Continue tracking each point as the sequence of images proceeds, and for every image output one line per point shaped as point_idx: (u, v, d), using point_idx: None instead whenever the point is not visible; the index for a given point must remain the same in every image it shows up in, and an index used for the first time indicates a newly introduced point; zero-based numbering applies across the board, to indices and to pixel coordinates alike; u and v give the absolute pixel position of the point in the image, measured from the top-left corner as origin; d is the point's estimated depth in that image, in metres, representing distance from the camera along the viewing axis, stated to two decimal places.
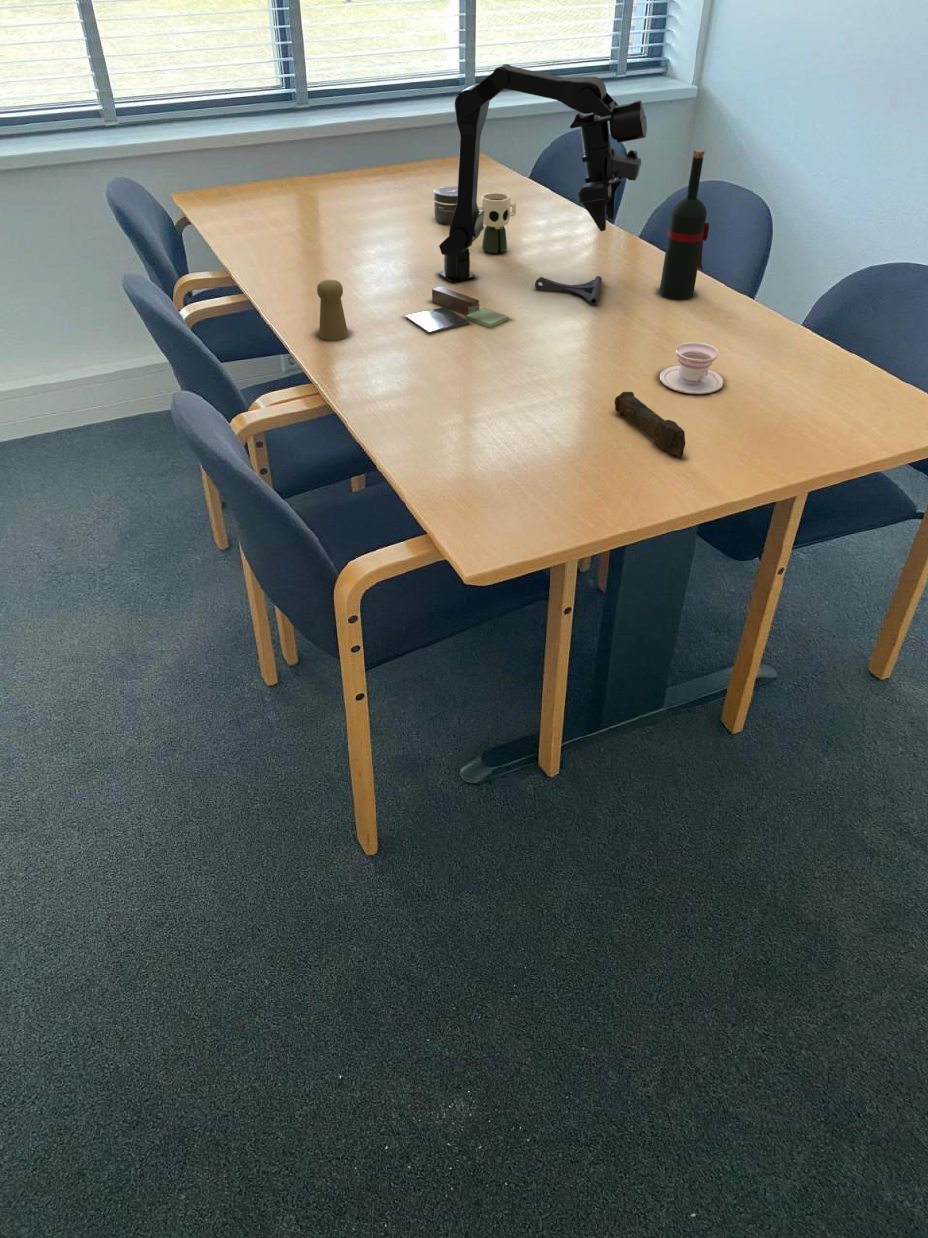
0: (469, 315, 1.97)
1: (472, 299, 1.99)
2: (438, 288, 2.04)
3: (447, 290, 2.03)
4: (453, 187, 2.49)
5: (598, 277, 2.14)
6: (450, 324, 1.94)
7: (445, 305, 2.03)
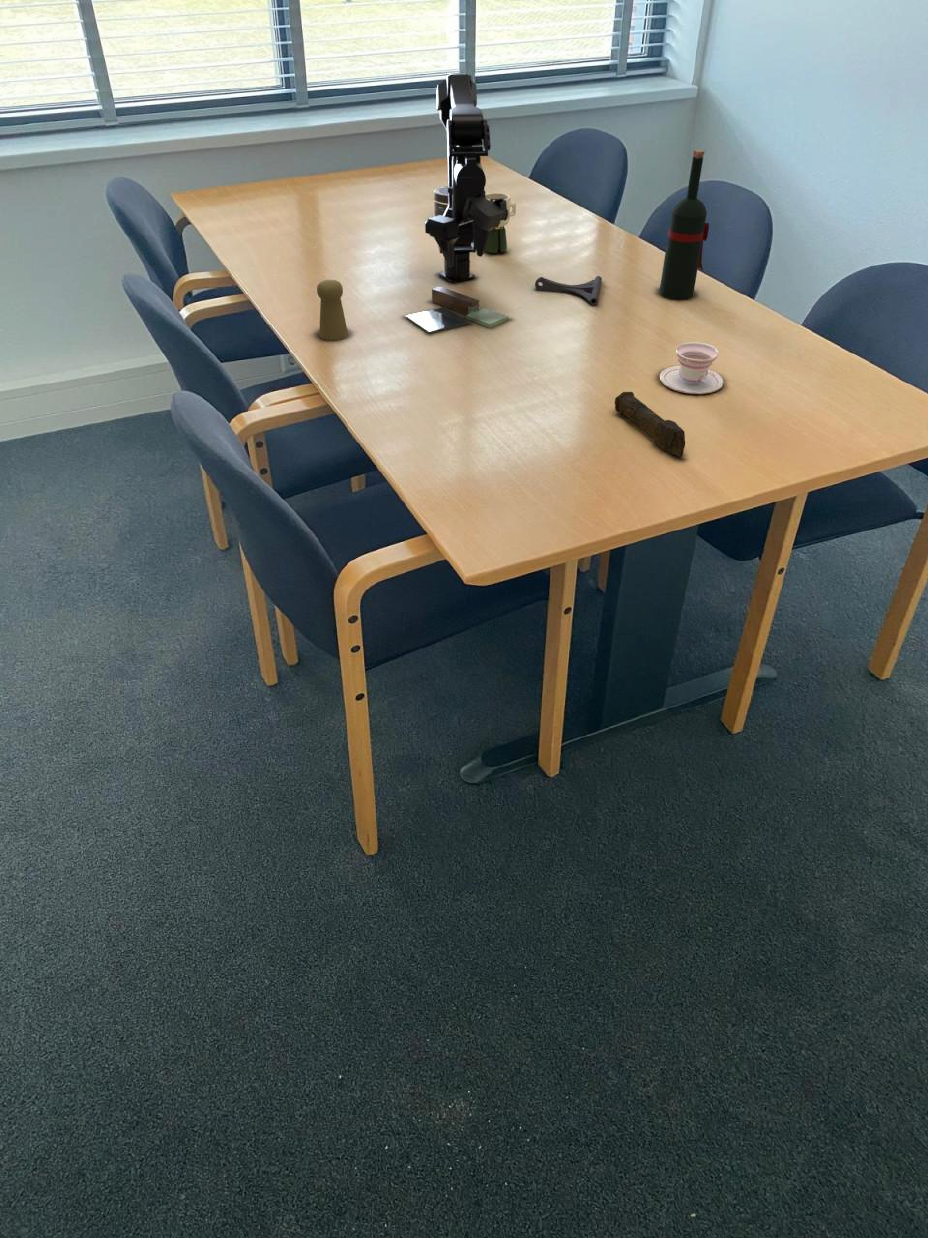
0: (469, 315, 1.97)
1: (472, 299, 1.99)
2: (438, 288, 2.04)
3: (447, 290, 2.03)
4: None
5: (598, 277, 2.14)
6: (450, 324, 1.94)
7: (445, 305, 2.03)
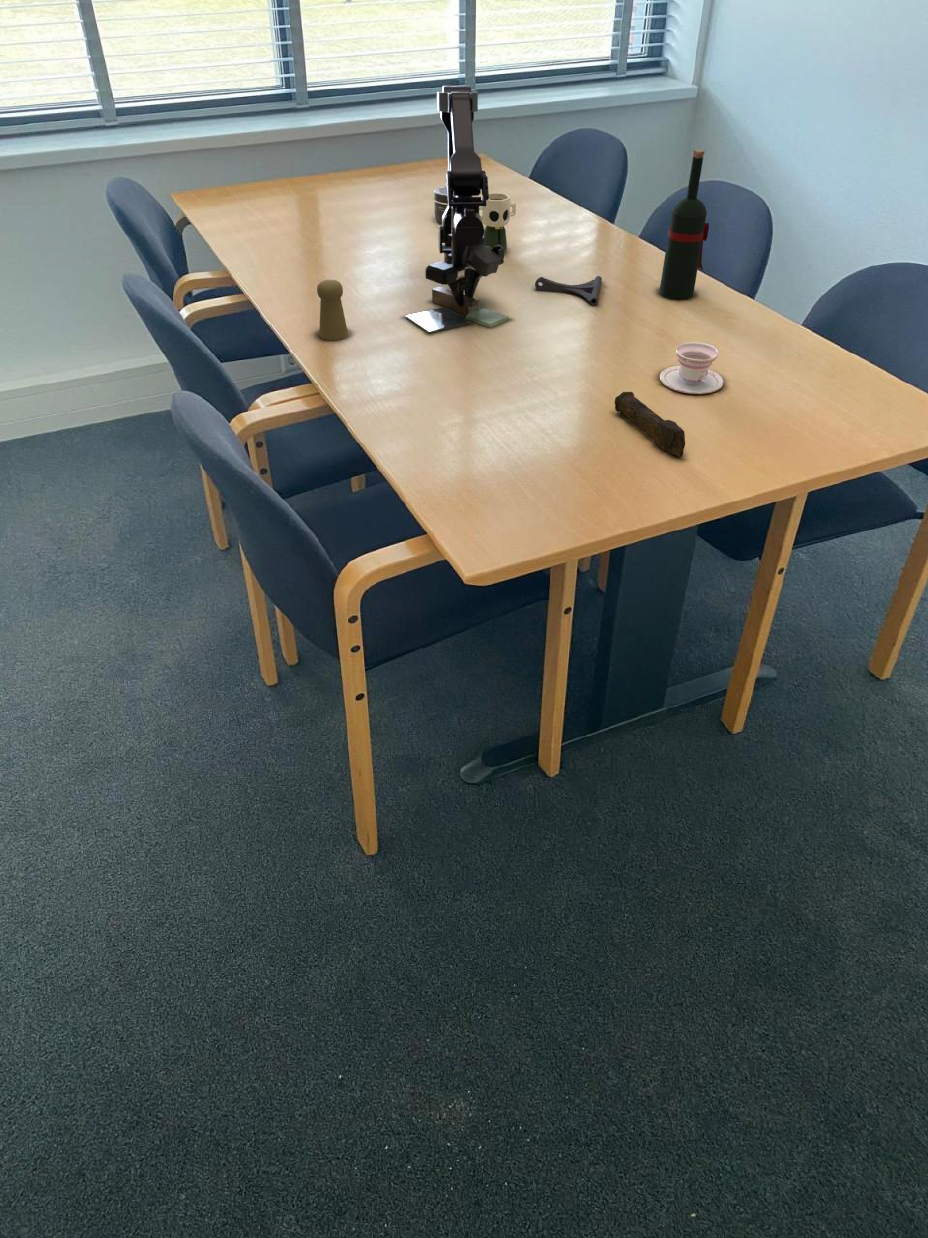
0: (469, 315, 1.97)
1: (472, 299, 1.99)
2: (438, 288, 2.04)
3: (447, 290, 2.03)
4: None
5: (598, 277, 2.14)
6: (450, 324, 1.94)
7: (445, 305, 2.03)
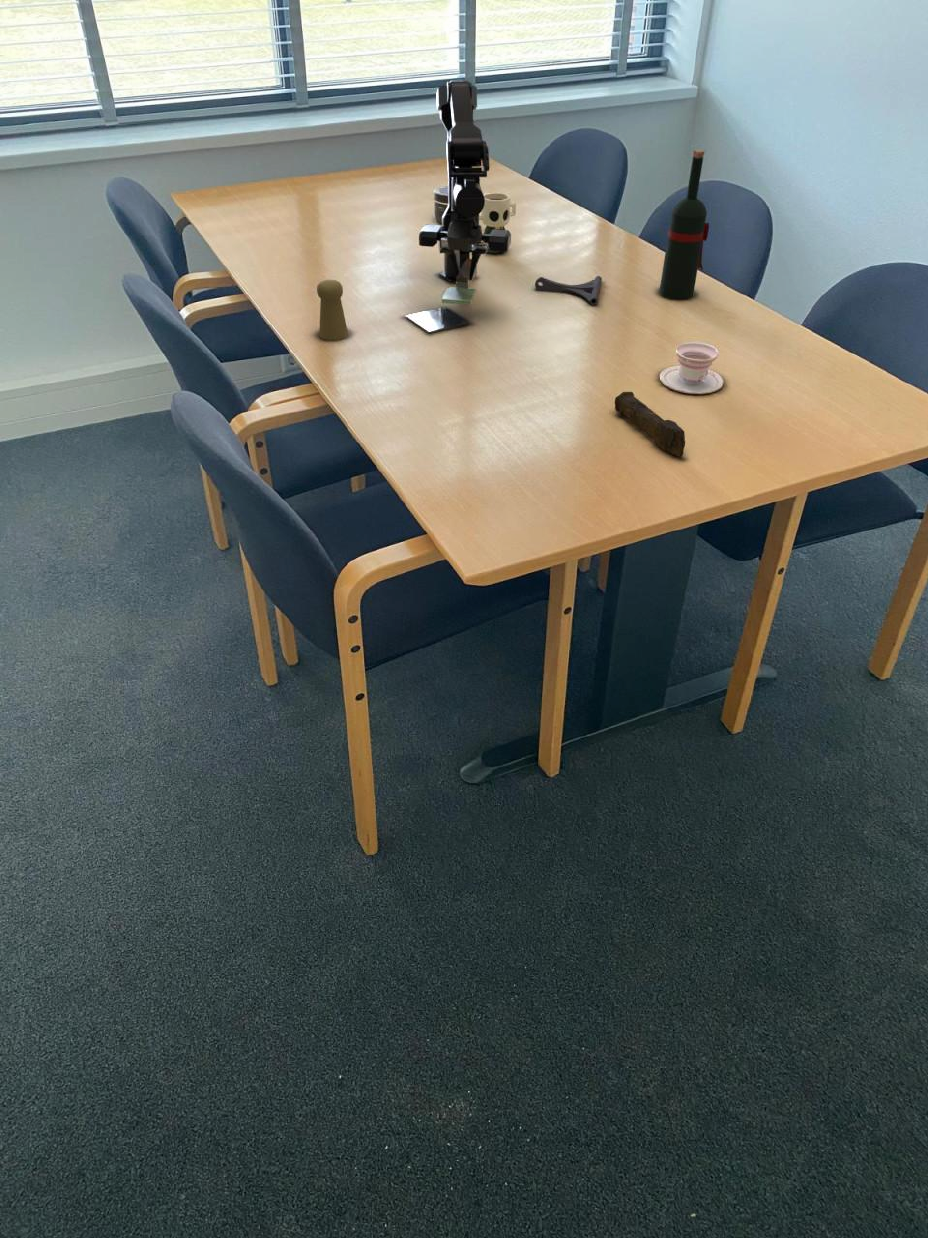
0: (449, 288, 1.95)
1: (465, 275, 1.94)
2: (470, 260, 2.02)
3: None
4: None
5: (598, 277, 2.14)
6: (450, 324, 1.94)
7: None
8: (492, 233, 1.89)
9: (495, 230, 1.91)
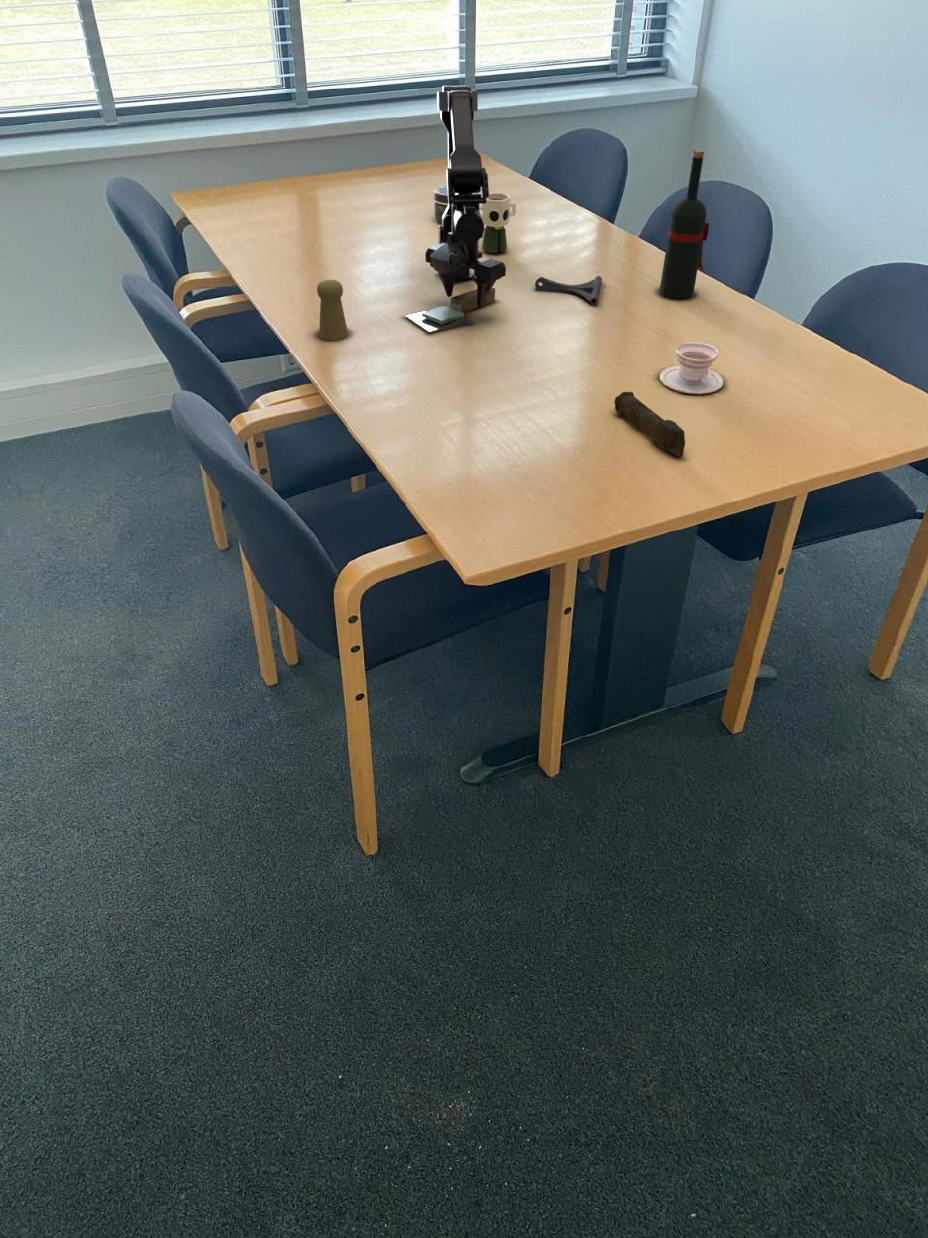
0: (443, 306, 2.00)
1: (460, 298, 1.98)
2: None
3: None
4: None
5: (598, 277, 2.14)
6: (450, 324, 1.94)
7: None
8: (483, 262, 1.90)
9: (491, 260, 1.91)
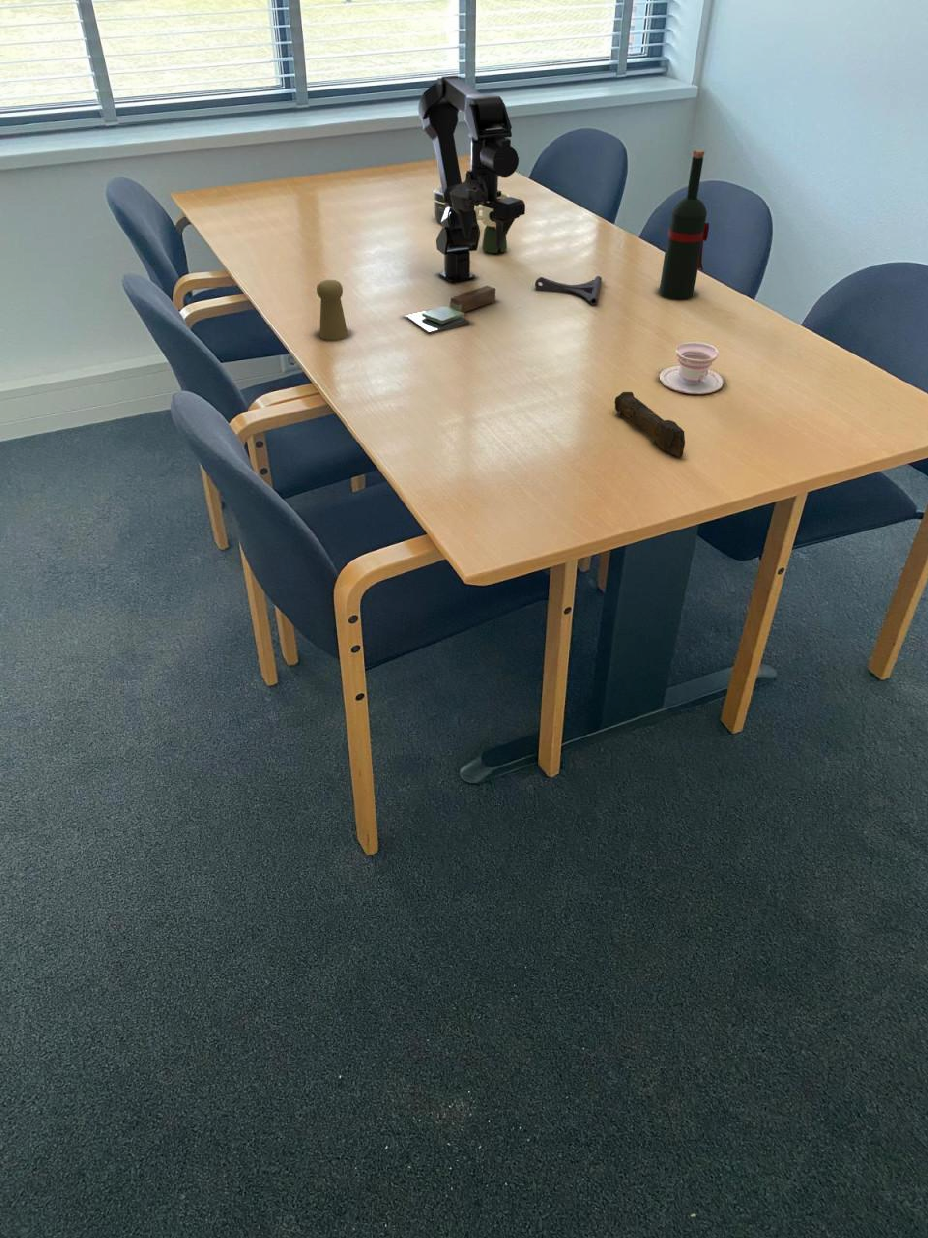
0: (443, 306, 2.00)
1: (460, 298, 1.98)
2: (488, 287, 2.04)
3: (483, 290, 2.02)
4: None
5: (598, 277, 2.14)
6: (450, 324, 1.94)
7: None
8: (502, 199, 1.90)
9: (510, 198, 1.91)
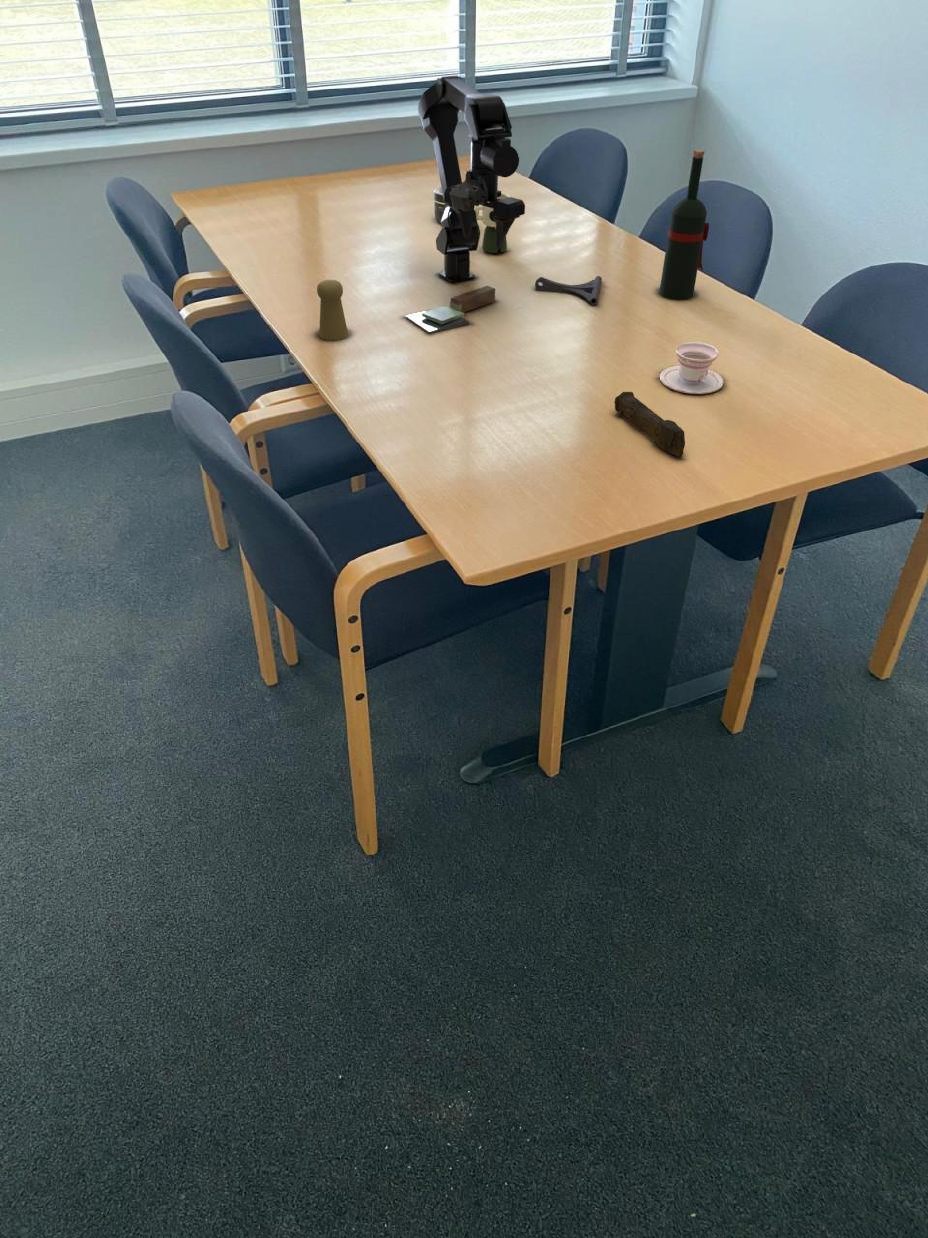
0: (443, 306, 2.00)
1: (460, 298, 1.98)
2: (488, 287, 2.04)
3: (483, 290, 2.02)
4: None
5: (598, 277, 2.14)
6: (450, 324, 1.94)
7: None
8: (502, 199, 1.90)
9: (510, 198, 1.91)
